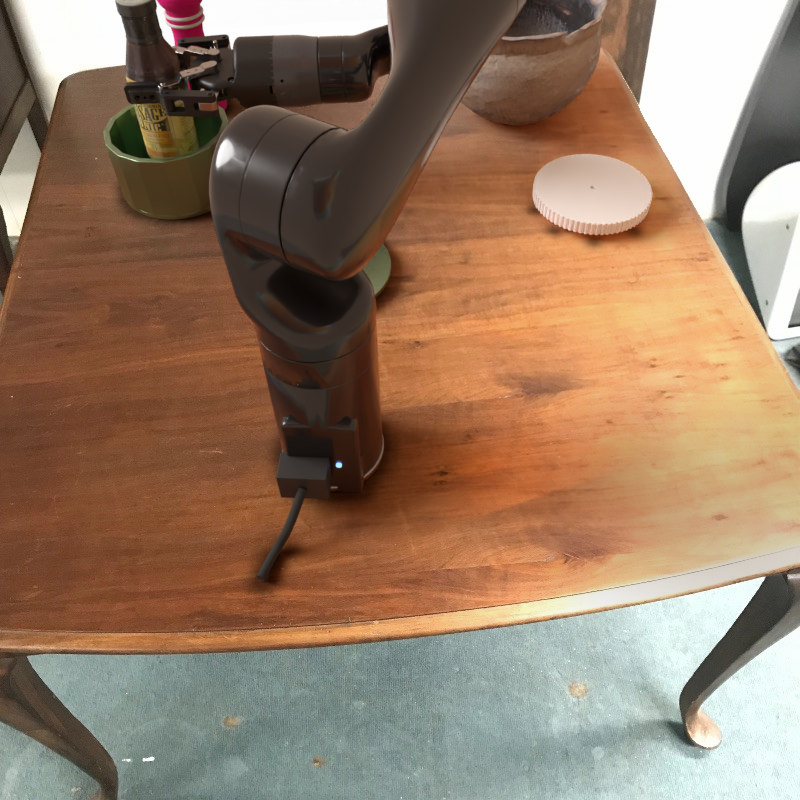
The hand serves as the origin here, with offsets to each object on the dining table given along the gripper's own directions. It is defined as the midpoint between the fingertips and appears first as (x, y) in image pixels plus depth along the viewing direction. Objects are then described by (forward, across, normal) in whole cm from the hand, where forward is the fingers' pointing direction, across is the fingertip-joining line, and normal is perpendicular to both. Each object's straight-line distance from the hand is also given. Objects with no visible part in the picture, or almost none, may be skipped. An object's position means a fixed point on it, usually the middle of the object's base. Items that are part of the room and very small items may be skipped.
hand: (132, 77), depth 87 cm
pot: (-2, 0, +14) cm, 14 cm away
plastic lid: (-53, +6, +15) cm, 55 cm away
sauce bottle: (-2, 0, +11) cm, 11 cm away
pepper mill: (-3, -18, +14) cm, 23 cm away
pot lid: (-21, +18, +14) cm, 30 cm away
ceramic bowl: (-46, -16, +15) cm, 51 cm away
